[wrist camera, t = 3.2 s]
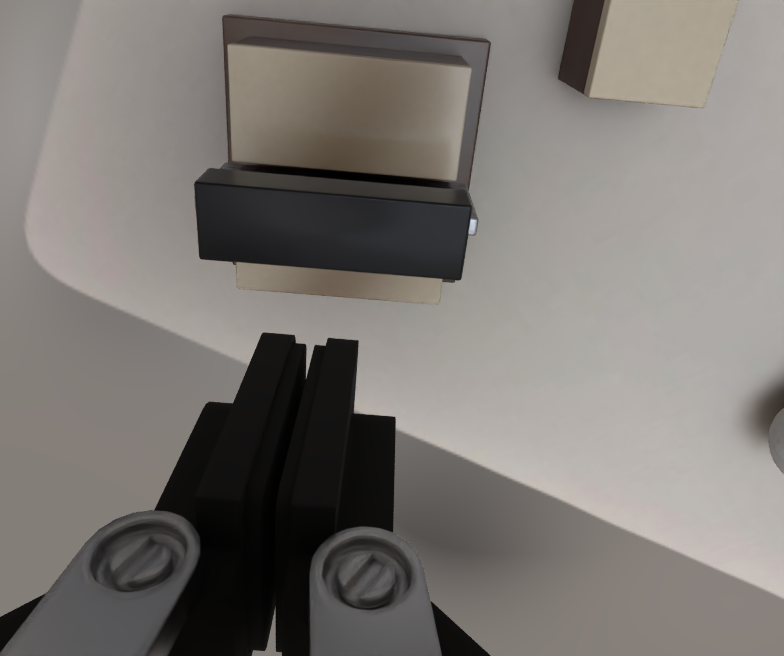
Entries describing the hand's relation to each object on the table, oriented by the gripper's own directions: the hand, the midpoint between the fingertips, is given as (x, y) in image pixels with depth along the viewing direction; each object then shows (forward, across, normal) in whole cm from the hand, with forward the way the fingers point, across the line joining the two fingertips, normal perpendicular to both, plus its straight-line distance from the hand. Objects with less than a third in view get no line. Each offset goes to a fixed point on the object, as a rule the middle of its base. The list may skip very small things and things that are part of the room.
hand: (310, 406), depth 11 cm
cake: (+17, +1, 0) cm, 17 cm away
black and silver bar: (+14, +1, 0) cm, 14 cm away
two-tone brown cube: (+18, -9, -6) cm, 21 cm away
